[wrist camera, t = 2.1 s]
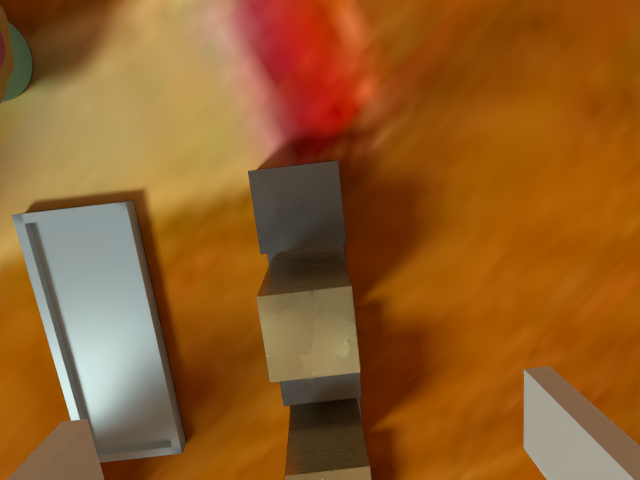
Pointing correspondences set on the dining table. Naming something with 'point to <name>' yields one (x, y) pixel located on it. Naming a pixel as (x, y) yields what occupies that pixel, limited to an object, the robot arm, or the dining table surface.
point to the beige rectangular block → (308, 317)
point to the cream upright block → (326, 442)
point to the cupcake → (13, 60)
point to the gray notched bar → (303, 246)
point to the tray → (103, 326)
